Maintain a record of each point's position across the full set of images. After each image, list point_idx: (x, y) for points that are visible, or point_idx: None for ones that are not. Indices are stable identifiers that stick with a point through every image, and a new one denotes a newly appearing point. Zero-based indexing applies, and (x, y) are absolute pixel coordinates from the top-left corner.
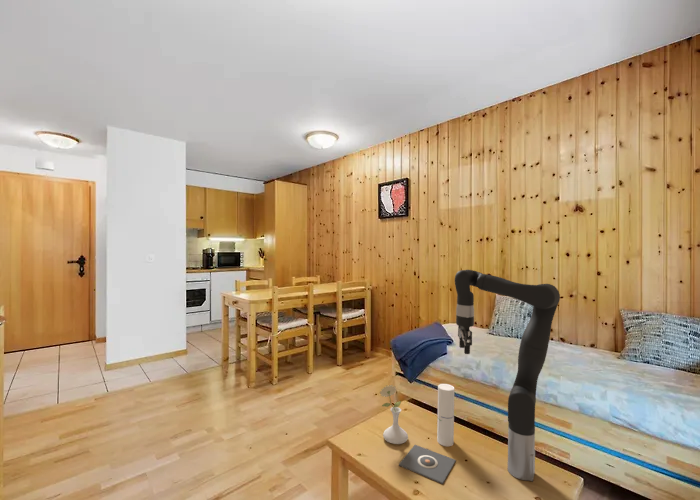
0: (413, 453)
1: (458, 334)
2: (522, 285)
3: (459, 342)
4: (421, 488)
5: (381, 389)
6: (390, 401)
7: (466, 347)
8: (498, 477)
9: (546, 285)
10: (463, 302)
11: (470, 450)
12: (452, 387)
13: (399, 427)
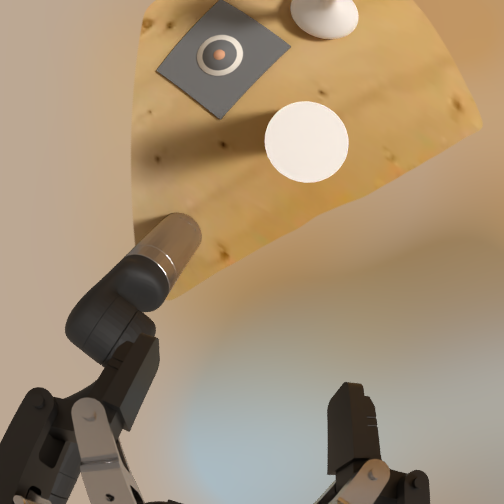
0: (254, 32)
1: (412, 495)
2: None
3: (366, 425)
4: (153, 32)
5: None
6: None
7: (96, 386)
8: (168, 185)
9: None
10: None
11: (256, 172)
12: (296, 171)
13: (322, 9)
